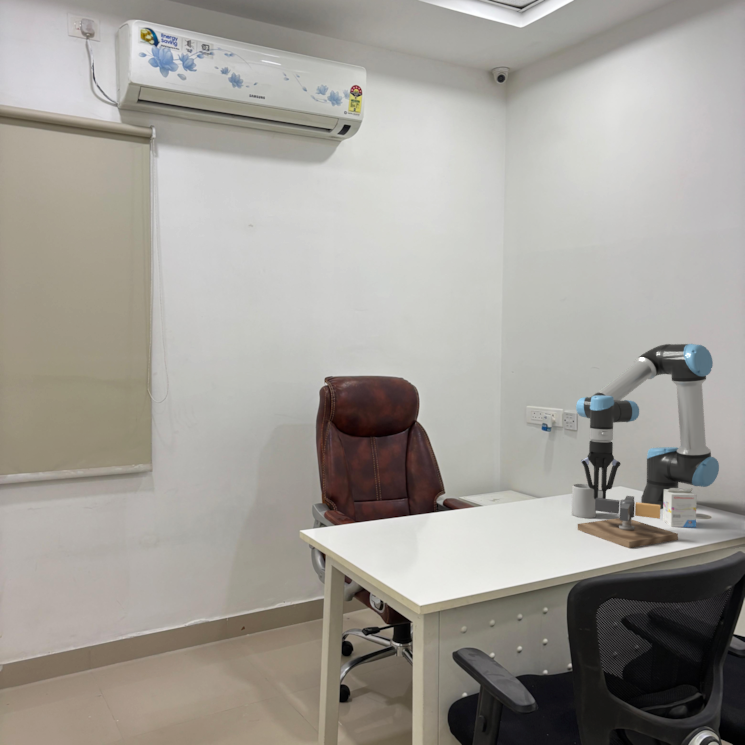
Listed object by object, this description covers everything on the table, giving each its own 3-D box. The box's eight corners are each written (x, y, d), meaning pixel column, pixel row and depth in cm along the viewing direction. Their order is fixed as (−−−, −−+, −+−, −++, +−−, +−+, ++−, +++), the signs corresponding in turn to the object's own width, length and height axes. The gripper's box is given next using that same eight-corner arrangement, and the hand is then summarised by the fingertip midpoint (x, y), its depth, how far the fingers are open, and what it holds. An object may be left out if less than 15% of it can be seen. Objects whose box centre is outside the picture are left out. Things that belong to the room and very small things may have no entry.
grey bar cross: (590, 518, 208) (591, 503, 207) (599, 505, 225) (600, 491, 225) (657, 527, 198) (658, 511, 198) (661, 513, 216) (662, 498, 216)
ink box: (686, 521, 230) (688, 484, 229) (696, 528, 222) (697, 489, 221) (662, 520, 231) (663, 484, 230) (670, 527, 222) (671, 489, 222)
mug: (584, 519, 231) (585, 489, 231) (566, 514, 238) (567, 484, 238) (607, 515, 237) (607, 486, 237) (588, 510, 244) (589, 482, 244)
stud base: (624, 522, 227) (624, 506, 227) (677, 539, 207) (678, 521, 207) (577, 529, 217) (577, 512, 217) (629, 548, 197) (629, 528, 197)
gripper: (583, 441, 215) (581, 510, 216) (623, 442, 213) (621, 512, 214) (579, 438, 222) (577, 505, 223) (618, 439, 220) (616, 507, 221)
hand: (599, 508), depth 219 cm, fingers closed
